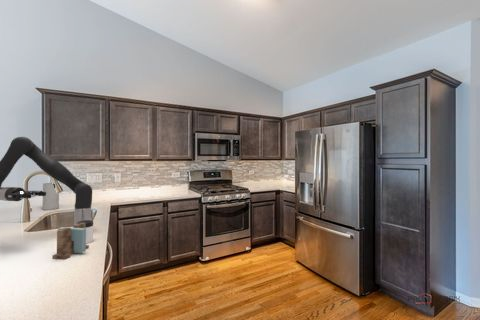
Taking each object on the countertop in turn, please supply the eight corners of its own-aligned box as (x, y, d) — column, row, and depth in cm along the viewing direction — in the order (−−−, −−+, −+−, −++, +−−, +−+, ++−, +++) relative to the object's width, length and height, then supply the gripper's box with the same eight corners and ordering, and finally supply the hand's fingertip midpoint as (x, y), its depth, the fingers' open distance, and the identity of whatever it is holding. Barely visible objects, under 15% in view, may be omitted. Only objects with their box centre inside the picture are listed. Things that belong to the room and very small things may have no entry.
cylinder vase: (54, 210, 230) (55, 184, 230) (39, 210, 227) (40, 184, 227) (61, 207, 242) (61, 182, 242) (46, 207, 239) (47, 182, 239)
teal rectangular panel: (57, 251, 127) (57, 228, 127) (61, 249, 129) (61, 227, 129) (82, 252, 125) (82, 229, 125) (85, 250, 128) (86, 228, 128)
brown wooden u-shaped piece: (77, 247, 136) (77, 222, 136) (88, 247, 135) (89, 222, 135) (52, 258, 120) (52, 230, 120) (65, 259, 119) (65, 231, 119)
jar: (96, 239, 149) (96, 220, 149) (88, 244, 141) (88, 223, 141) (82, 239, 149) (82, 219, 149) (72, 243, 141) (73, 223, 141)
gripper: (-3, 188, 124) (25, 189, 122) (24, 185, 138) (50, 186, 137) (-4, 203, 124) (25, 204, 122) (24, 198, 138) (50, 199, 137)
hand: (38, 195), depth 130 cm, fingers open, 8 cm apart
